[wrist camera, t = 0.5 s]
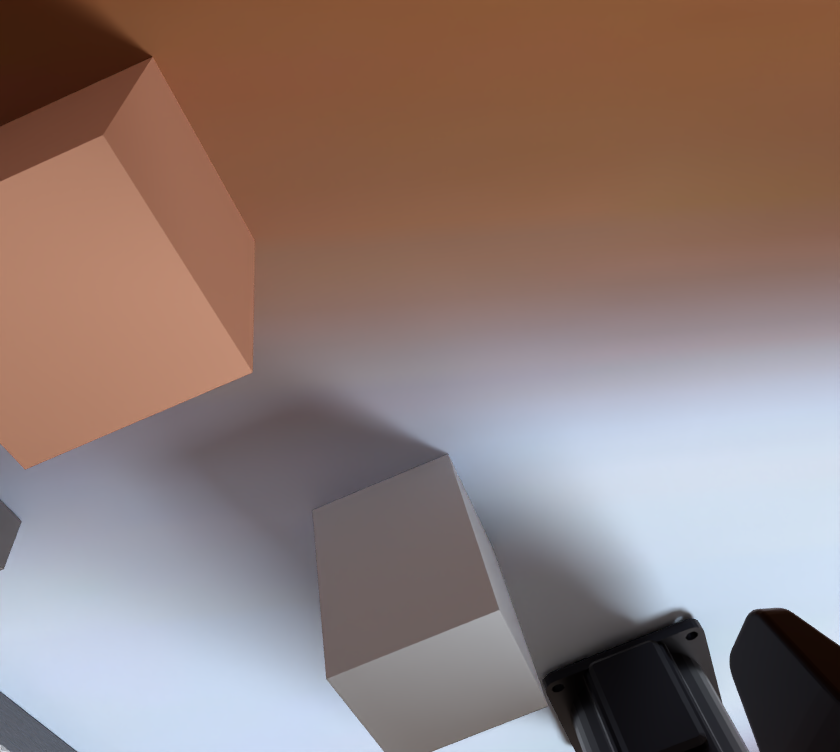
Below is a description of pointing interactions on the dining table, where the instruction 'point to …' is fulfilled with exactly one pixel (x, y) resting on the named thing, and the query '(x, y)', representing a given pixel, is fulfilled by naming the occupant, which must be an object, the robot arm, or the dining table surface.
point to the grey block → (419, 613)
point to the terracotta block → (114, 267)
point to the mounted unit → (25, 731)
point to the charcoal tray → (7, 532)
